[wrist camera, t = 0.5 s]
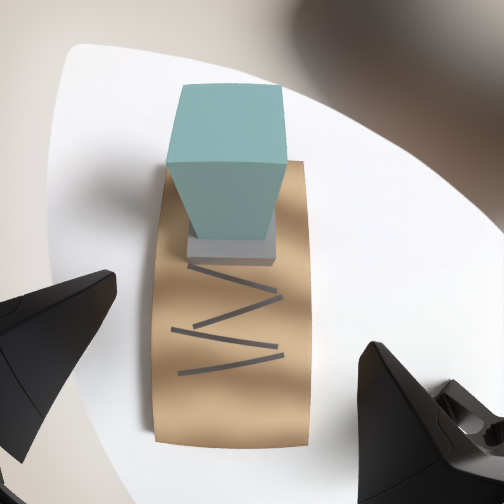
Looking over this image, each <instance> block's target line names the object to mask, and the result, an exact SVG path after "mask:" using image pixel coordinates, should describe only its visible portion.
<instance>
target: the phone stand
mask: <svg viewBox="0 0 504 504" xmlns="http://www.w3.org/2000/svg"><path fill="white" fill-rule="evenodd" d="M434 401H435V402H436V403H437V404H438V405H439V407H441V409H442V410H443V411H444V412H445V413H446V414H447V415H448V417H449V418H450V419H451V420H452V421H453V422H454V423H455V424H456V425H457V426H459V427H460V428H461V429H462V430H464V431H465V432H466V433H467V434H466V435H467V436H468V437H469V438H470V439H471V440H472V441H473V442H474V443H475V444H476V445H477V446H478V447H479V448H480V449H481V450H482V451H483V452H485V453H487V454H489V455H492V456H499V457H504V417H498V416H496V415H494V414H493V413H492V412H490V411H489V410H488V409H487V408H486V407H485V406H484V405H483V404H482V403H480V402H479V401H478V400H477V399H476V398H475V397H474V396H473V395H471V394H470V393H469V392H468V391H467V390H466V389H465V388H463V387H462V386H461V385H460V384H459V383H458V382H456V381H455V380H454V379H453V380H451V381H450V382H449V383H448V384H447V385H446V386H445V387H444V388H443V390H442V391H441V392H440V393H439V394H438V395H437V396H436V397H435V398H434Z"/></svg>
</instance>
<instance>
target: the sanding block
mask: <svg viewBox="0 0 504 504" xmlns="http://www.w3.org/2000/svg"><path fill="white" fill-rule="evenodd" d="M166 164H167V167H168V169H169V171H170V174H171V176H172V179H173V181H174V183H175V186H176V188H177V191H178V193H179V195H180V198H181V200H182V202H183V205H184V207H185V209H186V212H187V214H188V216H189V218H190V220H189V232H188V245H187V258H188V259H189V261H190V262H191V263H192V265H231V266H272V265H273V263H274V261H275V260H276V222H275V205H276V202H277V198H278V195H279V192H280V188H281V185H282V181H283V178H284V175H285V171H286V168H287V165H288V161H287V146H286V132H285V119H284V107H283V96H282V86H280V85H265V84H238V83H218V84H190V85H183V88H182V92H181V95H180V99H179V103H178V108H177V112H176V116H175V120H174V125H173V130H172V134H171V139H170V144H169V149H168V154H167V159H166Z"/></svg>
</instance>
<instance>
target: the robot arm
mask: <svg viewBox="0 0 504 504" xmlns="http://www.w3.org/2000/svg"><path fill="white" fill-rule="evenodd" d="M116 295H117V284H116V274H115V273H114V272H112V271H109V270H101V271H98V272H94V273H91V274H88V275H85V276H81V277H78V278H75V279H72V280H69V281H65V282H62V283H59V284H56V285H53V286H50V287H47V288H43V289H40V290H37V291H34V292H31V293H28V294H25V295H24V296H19V297H16V298H13V299H10V300H6V301H3V302H0V446H1V447H2V448H3V449H4V450H5V451H7V452H8V453H9V454H10V455H11V456H13V457H14V458H15V459H16V460H17V461H19V462H20V463H21V464H22V463H23V461H24V459H25V457H26V455H27V453H28V451H29V449H30V447H31V445H32V443H33V441H34V439H35V436H36V435H37V433H38V431H39V429H40V427H41V425H42V423H43V421H44V419H45V417H46V415H47V413H48V412H49V410H50V408H51V406H52V404H53V403H54V401H55V399H56V397H57V396H58V394H59V392H60V390H61V389H62V387H63V385H64V383H65V382H66V380H67V379H68V377H69V375H70V374H71V372H72V370H73V369H74V367H75V365H76V364H77V362H78V361H79V359H80V357H81V356H82V354H83V353H84V351H85V350H86V348H87V347H88V345H89V344H90V342H91V340H92V339H93V337H94V336H95V334H96V333H97V331H98V330H99V328H100V326H101V324H102V322H103V320H104V318H105V317H106V315H107V313H108V311H109V309H110V307H111V305H112V304H113V302H114V300H115V298H116ZM357 409H358V436H359V476H358V501H357V504H504V457H499V456H492V455H489V454H487V453H485V452H483V451H482V450H481V449H480V448H479V447H478V446H477V445H476V444H475V443H474V442H473V441H472V440H471V439H470V438H469V437H468V436H467V435H466V434H465V433H464V432H463V431H462V430H461V429H460V428H459V427H458V426H457V425H456V424H455V423H454V422H453V421H452V420H451V419H450V418H449V417H448V415H447V414H446V413H445V412H444V411H443V410H442V409H441V407H439V405H438V404H437V403H436V402H435V401H434V399H433V398H432V397H431V396H430V395H429V394H428V393H427V392H426V390H425V389H424V388H423V387H422V386H421V385H420V384H419V383H418V382H417V380H416V379H415V378H414V377H413V376H412V375H411V374H410V373H409V372H408V370H407V369H406V368H405V367H404V366H403V365H402V364H401V363H400V362H399V361H398V360H397V358H396V357H395V356H394V355H393V354H392V353H391V352H390V351H389V350H388V349H387V348H386V347H385V346H384V344H383V343H381V342H376V341H371V342H370V343H369V344H368V346H367V347H366V349H365V350H364V352H363V353H362V355H361V356H360V359H359V363H358V390H357ZM0 504H26V503H25V502H24V501H22V500H21V499H20V498H19V497H17V496H16V495H15V494H14V493H12V492H11V491H10V490H9V489H8V488H7V487H6V486H4V480H3V476H2V473H1V469H0Z"/></svg>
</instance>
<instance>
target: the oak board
mask: <svg viewBox="0 0 504 504" xmlns="http://www.w3.org/2000/svg"><path fill="white" fill-rule="evenodd" d="M287 161H288V160H287ZM189 220H190V218H189V216H188V214H187V212H186V209H185V207H184V205H183V202H182V200H181V198H180V195H179V193H178V191H177V188H176V186H175V183H174V181H173V179H172V176H171V174H170V171H169V169H168V167H167V173H166V179H165V185H164V192H163V198H162V206H161V213H160V221H159V230H158V239H157V249H156V259H155V272H154V286H153V304H152V335H151V372H152V402H153V419H154V432H155V442H161V443H168V444H175V445H184V446H195V447H208V448H229V449H261V448H283V447H296V446H306V445H308V437H309V420H310V397H311V359H312V311H311V271H310V247H309V228H308V213H307V199H306V186H305V174H304V164H303V161H288V165H287V168H286V171H285V175H284V178H283V181H282V185H281V188H280V192H279V195H278V198H277V202H276V205H275V222H276V260H275V261H274V263H273V265H272V266H231V265H192V263H191V262H190V261H189V259H188V258H187V245H188V232H189Z"/></svg>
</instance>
